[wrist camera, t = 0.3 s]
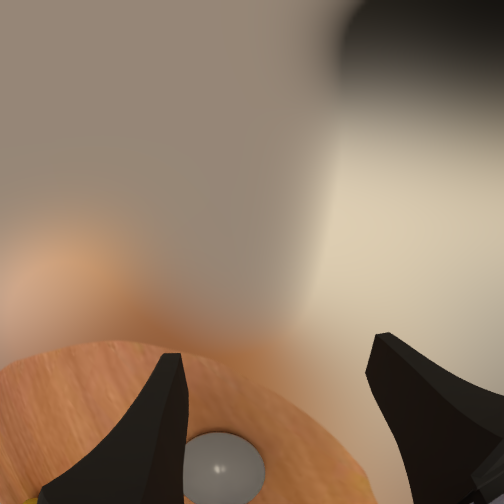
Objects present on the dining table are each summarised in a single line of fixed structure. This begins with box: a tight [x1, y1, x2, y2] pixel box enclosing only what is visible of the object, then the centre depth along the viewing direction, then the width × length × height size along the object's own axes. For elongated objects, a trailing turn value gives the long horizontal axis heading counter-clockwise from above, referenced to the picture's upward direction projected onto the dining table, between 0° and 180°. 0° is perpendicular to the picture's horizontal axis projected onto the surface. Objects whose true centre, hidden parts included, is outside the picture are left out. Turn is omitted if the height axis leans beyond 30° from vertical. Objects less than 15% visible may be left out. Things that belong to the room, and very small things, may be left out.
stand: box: [183, 432, 265, 504], centre depth 32 cm, size 11×11×2 cm
